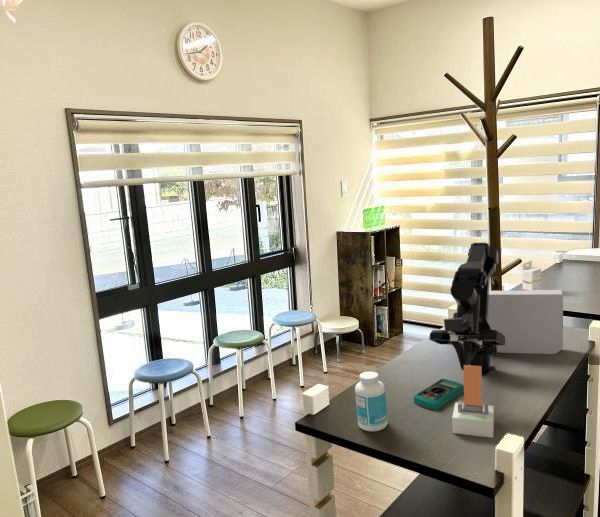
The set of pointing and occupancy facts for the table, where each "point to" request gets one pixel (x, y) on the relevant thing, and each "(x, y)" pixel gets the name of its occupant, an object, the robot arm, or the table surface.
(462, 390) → the digital multimeter
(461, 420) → the switch base
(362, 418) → the pill bottle
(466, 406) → the lever
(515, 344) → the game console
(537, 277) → the ink cartridge box
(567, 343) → the table surface
